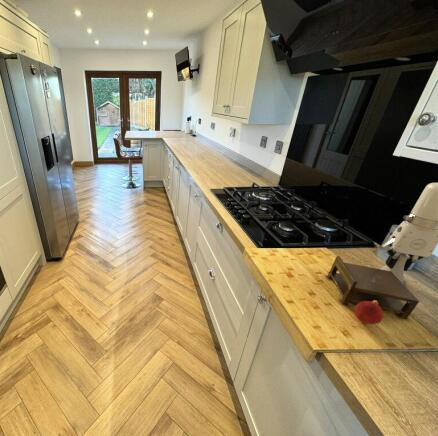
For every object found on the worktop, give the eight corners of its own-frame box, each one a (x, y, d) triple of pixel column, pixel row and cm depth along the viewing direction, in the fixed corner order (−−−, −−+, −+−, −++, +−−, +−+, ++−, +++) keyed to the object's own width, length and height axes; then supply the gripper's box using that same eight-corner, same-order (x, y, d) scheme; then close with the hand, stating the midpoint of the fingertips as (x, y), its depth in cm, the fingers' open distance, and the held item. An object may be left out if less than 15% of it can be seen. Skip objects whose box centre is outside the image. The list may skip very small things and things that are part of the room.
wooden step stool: (381, 287, 80) (394, 266, 76) (406, 319, 68) (423, 295, 64) (327, 276, 85) (336, 255, 81) (342, 304, 73) (354, 281, 69)
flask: (397, 274, 87) (411, 252, 83) (407, 286, 81) (423, 263, 77) (373, 268, 90) (385, 246, 85) (380, 280, 84) (394, 257, 79)
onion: (371, 334, 63) (386, 313, 60) (346, 319, 67) (358, 298, 64) (379, 324, 66) (393, 303, 63) (354, 311, 70) (366, 290, 67)
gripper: (399, 221, 75) (372, 268, 83) (467, 231, 70) (432, 279, 78) (386, 212, 81) (362, 256, 89) (448, 221, 76) (417, 266, 85)
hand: (395, 267), depth 83 cm, fingers closed on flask, 3 cm apart
